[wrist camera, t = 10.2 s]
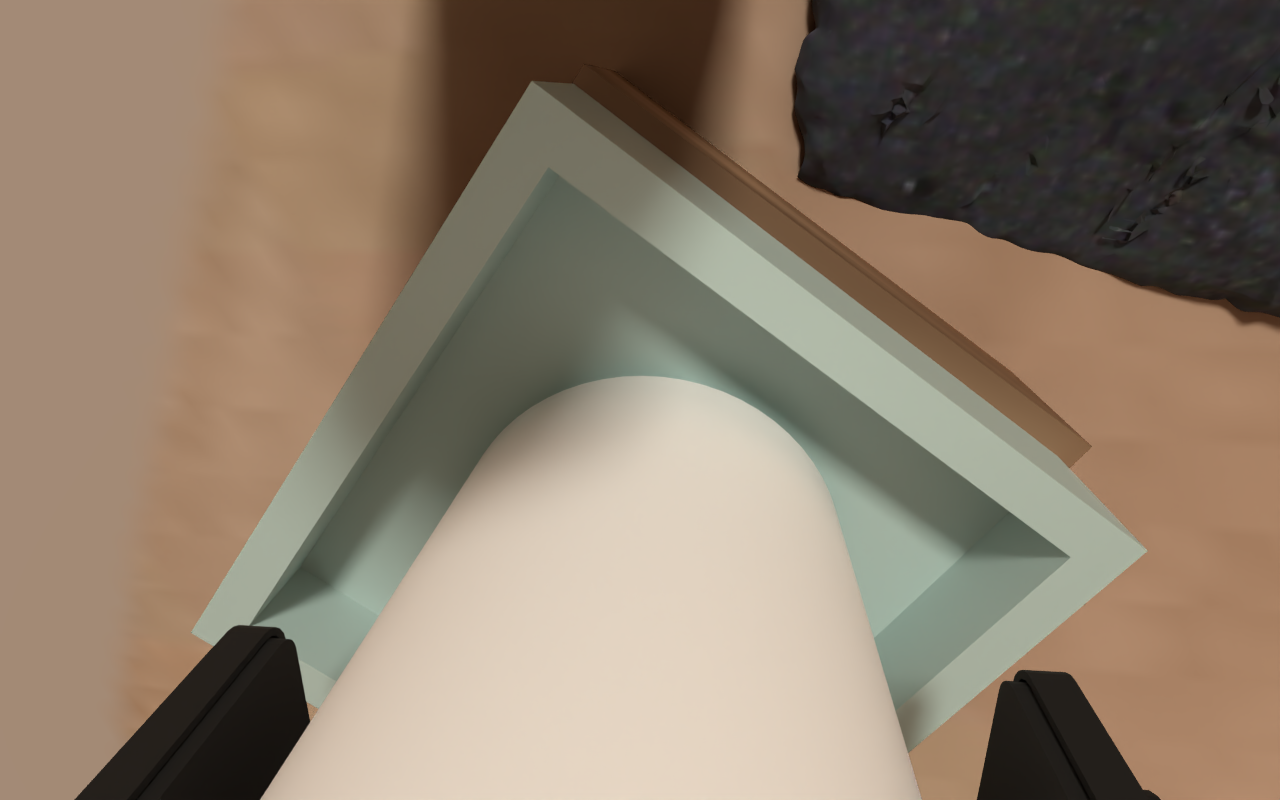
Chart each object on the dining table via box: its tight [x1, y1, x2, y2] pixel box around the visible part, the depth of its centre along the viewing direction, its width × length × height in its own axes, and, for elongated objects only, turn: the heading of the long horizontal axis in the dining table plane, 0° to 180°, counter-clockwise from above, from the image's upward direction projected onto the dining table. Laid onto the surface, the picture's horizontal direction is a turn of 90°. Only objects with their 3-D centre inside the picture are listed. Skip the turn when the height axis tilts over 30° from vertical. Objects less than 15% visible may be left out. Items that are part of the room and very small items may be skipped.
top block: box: [191, 81, 1147, 753], centre depth 15 cm, size 12×12×4 cm
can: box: [260, 376, 922, 800], centre depth 10 cm, size 7×7×12 cm
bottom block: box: [572, 64, 1092, 468], centre depth 19 cm, size 12×12×5 cm
